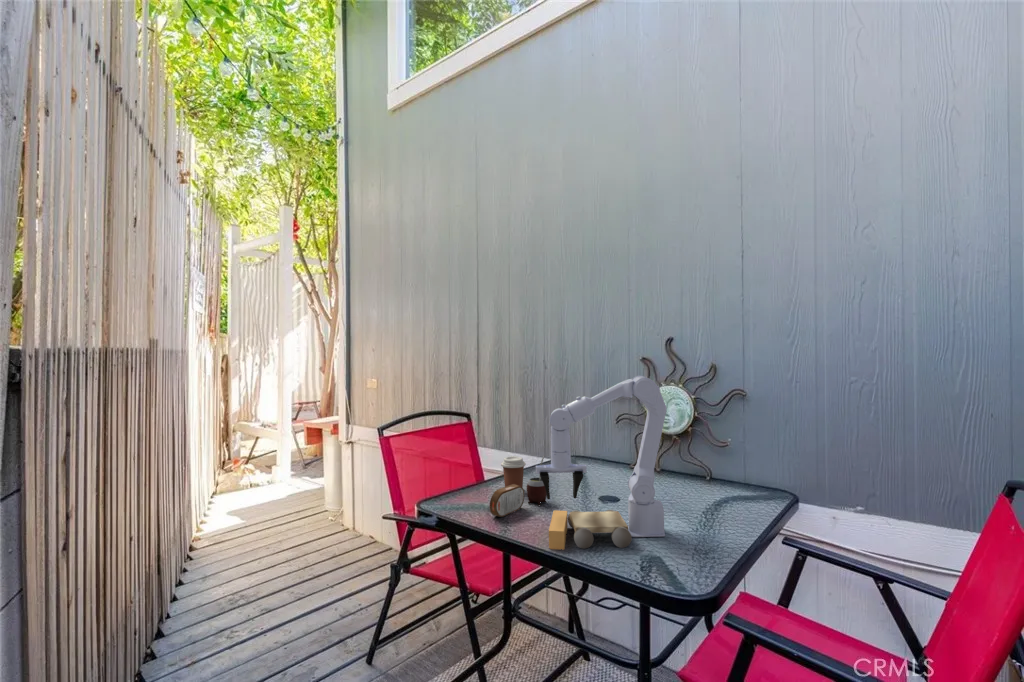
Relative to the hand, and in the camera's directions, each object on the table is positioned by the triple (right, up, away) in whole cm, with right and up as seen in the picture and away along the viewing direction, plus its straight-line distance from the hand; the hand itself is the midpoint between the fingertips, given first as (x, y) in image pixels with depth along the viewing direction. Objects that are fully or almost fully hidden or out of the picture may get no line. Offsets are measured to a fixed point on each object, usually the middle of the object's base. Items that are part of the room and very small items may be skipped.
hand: (561, 497), depth 141 cm
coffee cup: (-14, -10, +39) cm, 43 cm away
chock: (-1, -10, -5) cm, 11 cm away
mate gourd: (-6, -10, +25) cm, 28 cm away
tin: (-16, -10, +15) cm, 24 cm away
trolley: (+10, -9, -6) cm, 14 cm away
